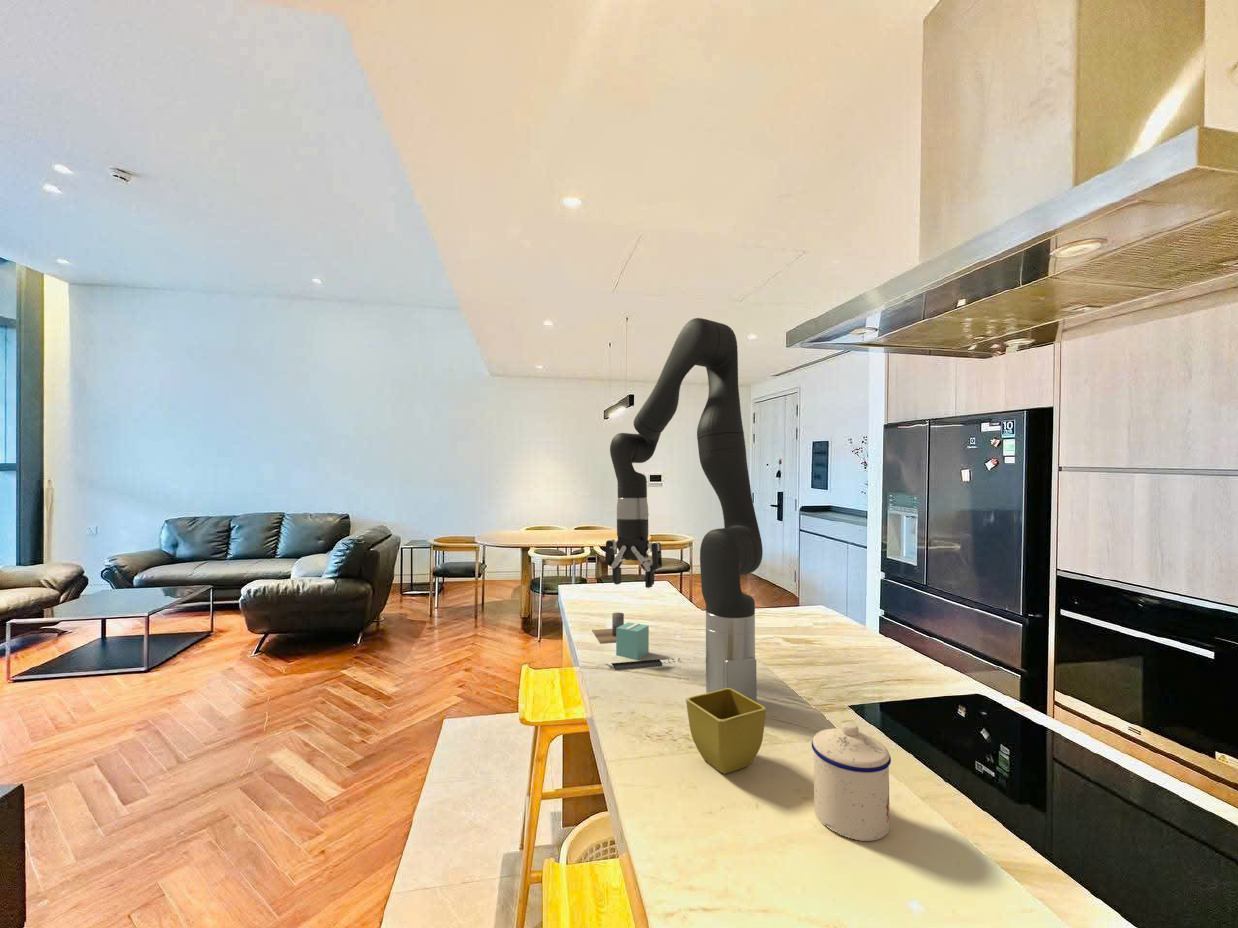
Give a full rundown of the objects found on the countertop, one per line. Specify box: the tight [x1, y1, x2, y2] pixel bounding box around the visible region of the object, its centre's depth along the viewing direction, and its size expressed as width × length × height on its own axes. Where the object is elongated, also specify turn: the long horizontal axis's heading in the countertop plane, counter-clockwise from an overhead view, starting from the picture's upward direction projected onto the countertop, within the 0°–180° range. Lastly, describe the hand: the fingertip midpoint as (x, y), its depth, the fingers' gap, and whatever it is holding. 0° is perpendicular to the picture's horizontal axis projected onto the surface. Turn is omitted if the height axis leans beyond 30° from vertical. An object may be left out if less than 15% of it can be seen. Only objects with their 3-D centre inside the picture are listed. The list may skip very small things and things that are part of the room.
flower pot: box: [685, 688, 767, 775], centre depth 78 cm, size 9×9×9 cm
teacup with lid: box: [811, 721, 892, 842], centre depth 66 cm, size 12×9×12 cm
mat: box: [610, 658, 663, 671], centre depth 122 cm, size 11×11×1 cm
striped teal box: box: [615, 622, 650, 662], centre depth 122 cm, size 6×6×7 cm
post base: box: [591, 612, 625, 645], centre depth 136 cm, size 12×12×7 cm
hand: (633, 585), depth 122 cm, fingers open, 8 cm apart
